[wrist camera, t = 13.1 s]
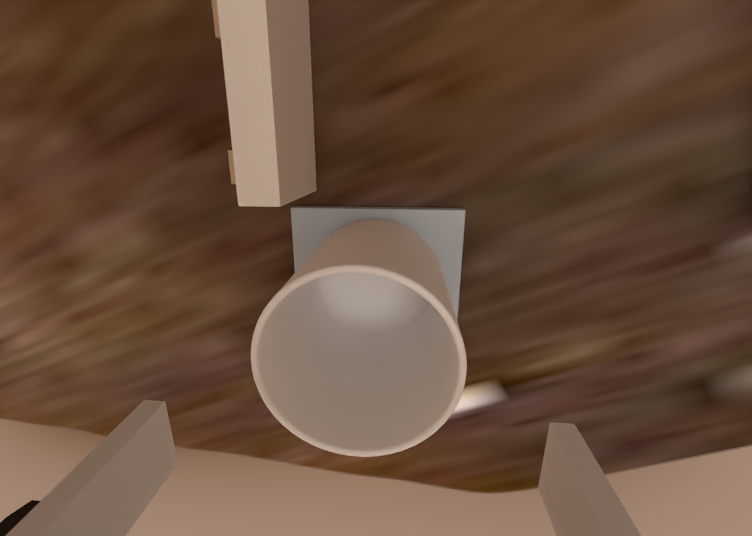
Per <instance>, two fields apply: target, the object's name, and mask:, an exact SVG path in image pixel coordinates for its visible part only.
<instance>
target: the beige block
mask: <svg viewBox="0 0 752 536" xmlns="http://www.w3.org/2000/svg"><path fill="white" fill-rule="evenodd" d="M211 1H212V10H213V19H214V28H215V37H216V38H217V39H219V40H221V46H222V55H223V65H224V74H225V84H226V93H227V103H228V112H229V122H230V131H231V141H232V150H228V157H229V167H230V176H231V184H236V189H237V198H238V206H261V207H281V206H283V205H285V204H288V203H290V202H292V201H294V200H297V199H299V198H301V197H304V196H306V195H308V194H310V193H313V192H315V191H317V186H316V163H315V140H314V117H313V93H312V70H311V47H310V23H309V0H211Z"/></svg>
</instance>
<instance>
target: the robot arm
mask: <svg viewBox="0 0 752 536" xmlns="http://www.w3.org/2000/svg"><path fill="white" fill-rule="evenodd" d="M177 463H178V462H177V457H176V452H175V447H174V442H173V437H172V432H171V428H170V423H169V418H168V413H167V409H166V404H165V401H151V400H144V401H143V402H142V403H141V404H140V405H139V406H138V407H137V408H136V409H135V410H134V411H133V412H132V413H131V414H130V415H129V416H128V417H126V418H125V419H124V420H123V421H122V422H121V423H120V424H119V425H118V426H117V427H116V428H115V429H114V430H113V431H112V432H111V433H110V434H109V435H108V436H107V437H106V438H105V439H104V440H103V441H102V442H101V443H100V444H99V445H98V446H97V447H96V448H95V449H94V450H93V451H92V452H91V453H90V454H89V455H88V456H87V457H86V458H84V459H83V460H82V461H81V462H80V463H79V464H78V465H77V466H76V467H75V468H74V469H73V470H72V471H71V472H70V473H69V474H68V475H67V476H66V477H65V478H64V479H63V480H62V481H61V482H60V483H59V484H58V485H57V486H56V487H55V488H54V489H53V490H52V491H51V492H50V493H49V494H48V495H47V496H45V497H44V498H43V499H42V500H41V501H34V500H32V501H30V502H29V503H27V504H26V505H24V506H23V507H21V508H20V509H18V510H17V511H15V512H14V513H12V514H11V515H9V516H8V517H6V518H5V519H4V520H3V521H2V522H1V523H0V536H126V534H127V533H128V532H129V530H130V529H131V527H132V526H133V524H134V523H135V522H136V520H137V519H138V518H139V516H140V515H141V513H142V512H143V511H144V509H145V508H146V506H147V505H148V504H149V502H150V501H151V500H152V498H153V497H154V495H155V494H156V493H157V491H158V490H159V488H160V487H161V485H162V484H163V483H164V482H165V480H166V479H167V477H168V476H169V475H170V473H171V471H172V470H173V469H174V467H175V466H176V465H177ZM538 488H539V491H540V493H541V496H542V498H543V501H544V504H545V506H546V509H547V511H548V514H549V517H550V519H551V522H552V525H553V527H554V530H555V533H556V535H557V536H641V535H640V534H639V532H638V530H637V528H636V527H635V525H634V523H633V522H632V520H631V518H630V517H629V515H628V513H627V512H626V510H625V508H624V507H623V505H622V503H621V502H620V500H619V498H618V496H617V495H616V493H615V491H614V490H613V488H612V487H611V485H610V483H609V482H608V480H607V478H606V476H605V475H604V473H603V471H602V470H601V468H600V466H599V465H598V463H597V461H596V459H595V458H594V456H593V454H592V453H591V451H590V449H589V448H588V446H587V444H586V443H585V441H584V439H583V438H582V436H581V434H580V433H579V431H578V429H577V428H576V426H575V424H567V423H550V425H549V431H548V436H547V442H546V447H545V453H544V459H543V464H542V470H541V475H540V481H539V486H538Z"/></svg>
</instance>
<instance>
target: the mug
mask: <svg viewBox="0 0 752 536" xmlns="http://www.w3.org/2000/svg"><path fill="white" fill-rule="evenodd" d="M251 365H252V372H253V376H254V380H255V384H256V386H257V389H258V391H259V393H260V395H261V397H262V399H263V401H264V403H265V404H266V406H267V407H268V409H269V410H270V411H271V413H272V414H273V415H274V416H275V417H276V418H277V419H278V421H279V422H280V423H281V424H282V425H283V426H285V427H286V428H287V429H288V430H289V431H291V432H292V433H293V434H295V435H296V436H298V437H299V438H301V439H302V440H304V441H306V442H308V443H310V444H312V445H314V446H316V447H319V448H321V449H324V450H327V451H330V452H334V453H338V454H343V455H349V456H361V457H368V456H381V455H387V454H392V453H395V452H399V451H403V450H405V449H408V448H410V447H412V446H415V445H416V444H418V443H420V442H422V441H424V440H425V439H427V438H428V437H429V436H431V435H432V434H433V433H435V432H436V431H437V430H438V429H439V428H440V427H441V426H442V425H443V424H444V423H445V422H446V421H447V419H448V418H449V417H450V416H451V414H452V413H453V411H454V409H455V407H456V406H457V404H458V402H459V399H460V397H461V395H462V392H463V389H464V384H465V380H466V370H467V362H466V352H465V347H464V343H463V339H462V335H461V332H460V329H459V326H458V322H457V319H456V316H455V313H454V309H453V306H452V303H451V299H450V296H449V293H448V290H447V286H446V283H445V280H444V277H443V273H442V270H441V267H440V265H439V262H438V260H437V258H436V256H435V254H434V252H433V251H432V249H431V248H430V247H429V245H428V244H427V243H426V242H425V241H424V240H423V239H422V238H421V237H420V236H419V235H418V234H416V233H415V232H414V231H412V230H410V229H409V228H407V227H405V226H403V225H400V224H398V223H394V222H391V221H386V220H362V221H358V222H354V223H351V224H349V225H346V226H344V227H342V228H341V229H339V230H337V231H336V232H334V233H333V234H332V235H330V236H329V237H328V238H327V239H326V240H325V241H324V242H323V243H322V244H321V245H320V246H319V247H318V248H317V249H316V251H315V252H314V253H313V254H312V255H311V256H310V257H309V258H308V259H307V260H306V262H305V263H304V264H303V265H302V266H301V267H300V268H299V269H298V270H297V271H296V273H295V274H294V275H293V276H292V277H291V278H290V279H289V280H288V281H287V283H286V284H285V285H284V286H283V287H282V288H281V289H280V290H279V291H278V292H277V294H276V295H275V296H274V297H273V298H272V299H271V300H270V302H269V303H268V304H267V306H266V307H265V308H264V310H263V312H262V314H261V316H260V317H259V319H258V321H257V324H256V327H255V330H254V333H253V338H252V344H251Z"/></svg>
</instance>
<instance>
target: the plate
mask: <svg viewBox="0 0 752 536" xmlns="http://www.w3.org/2000/svg"><path fill="white" fill-rule="evenodd" d="M362 220H386V221H391V222H394V223H398V224H400V225H403V226H405V227H407V228H409V229H410V230H412V231H414V232H415V233H416V234H418V235H419V236H420V237H421V238H422V239H423V240H424V241H425V242H426V243H427V244H428V245H429V247H430V248H431V249H432V251H433V252H434V254H435V256H436V258H437V260H438V262H439V265H440V267H441V270H442V273H443V277H444V280H445V283H446V286H447V290H448V293H449V296H450V299H451V303H452V306H453V309H454V313H455V316H456V319H457V318H458V305H459V291H460V277H461V264H462V250H463V237H464V223H465V209H464V208H425V207H351V206H293V207H291V221H292V237H293V252H294V268H295V273H296V271H297V270H298V269H299V268H300V267H301V266H302V265H303V264H304V263H305V262H306V260H307V259H308V258H309V257H310V256H311V255H312V254H313V253H314V252H315V251H316V249H317V248H318V247H319V246H320V245H321V244H322V243H323V242H324V241H325V240H326V239H327V238H328V237H329V236H330V235H332V234H333V233H334V232H336V231H337V230H339V229H341V228H342V227H344V226H346V225H349V224H351V223H354V222H358V221H362Z"/></svg>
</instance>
